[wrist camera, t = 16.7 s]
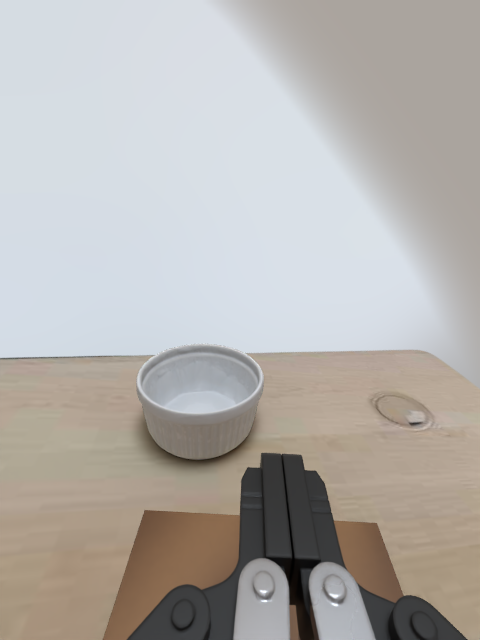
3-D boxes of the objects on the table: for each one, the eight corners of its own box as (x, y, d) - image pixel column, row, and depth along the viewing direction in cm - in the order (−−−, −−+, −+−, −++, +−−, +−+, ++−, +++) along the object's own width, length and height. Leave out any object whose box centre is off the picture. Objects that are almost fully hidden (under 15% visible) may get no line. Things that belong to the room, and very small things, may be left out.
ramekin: (259, 391, 42) (262, 345, 39) (261, 476, 30) (266, 418, 27) (160, 386, 42) (156, 340, 39) (122, 468, 30) (113, 410, 27)
